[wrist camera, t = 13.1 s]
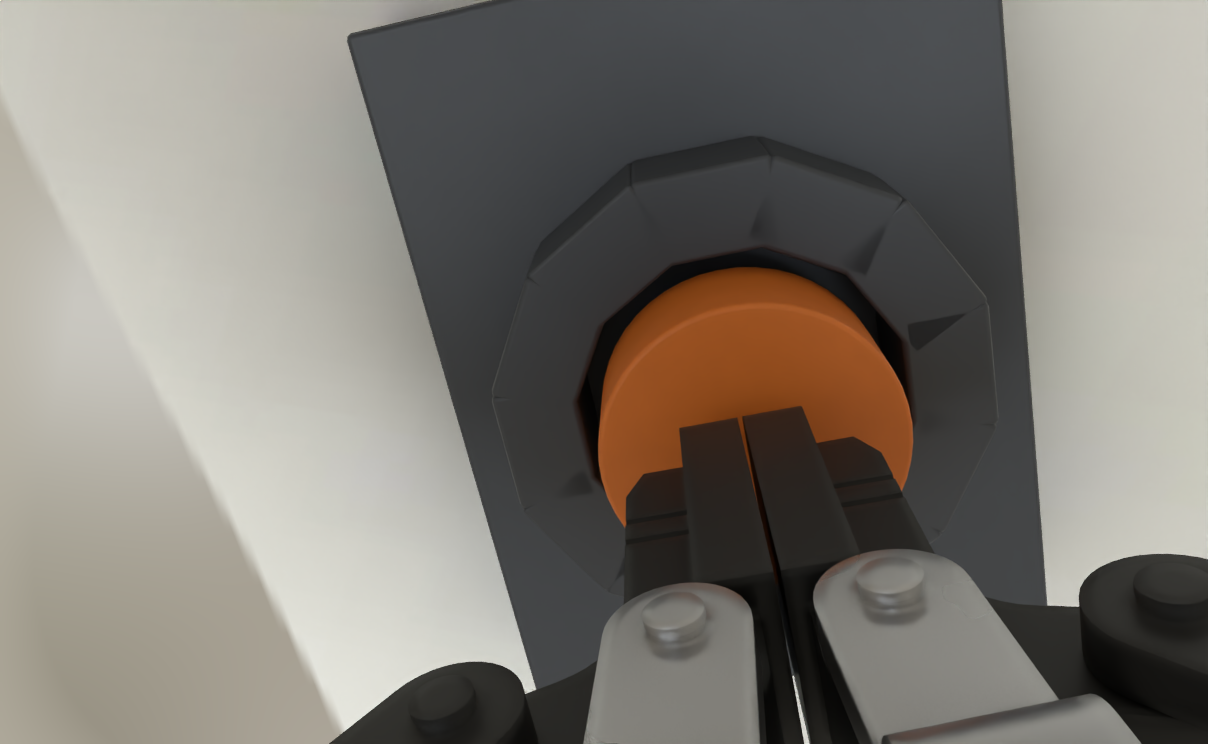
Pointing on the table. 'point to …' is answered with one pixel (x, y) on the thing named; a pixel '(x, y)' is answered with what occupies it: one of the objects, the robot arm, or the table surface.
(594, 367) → the block
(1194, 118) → the table surface
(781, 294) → the stop button
